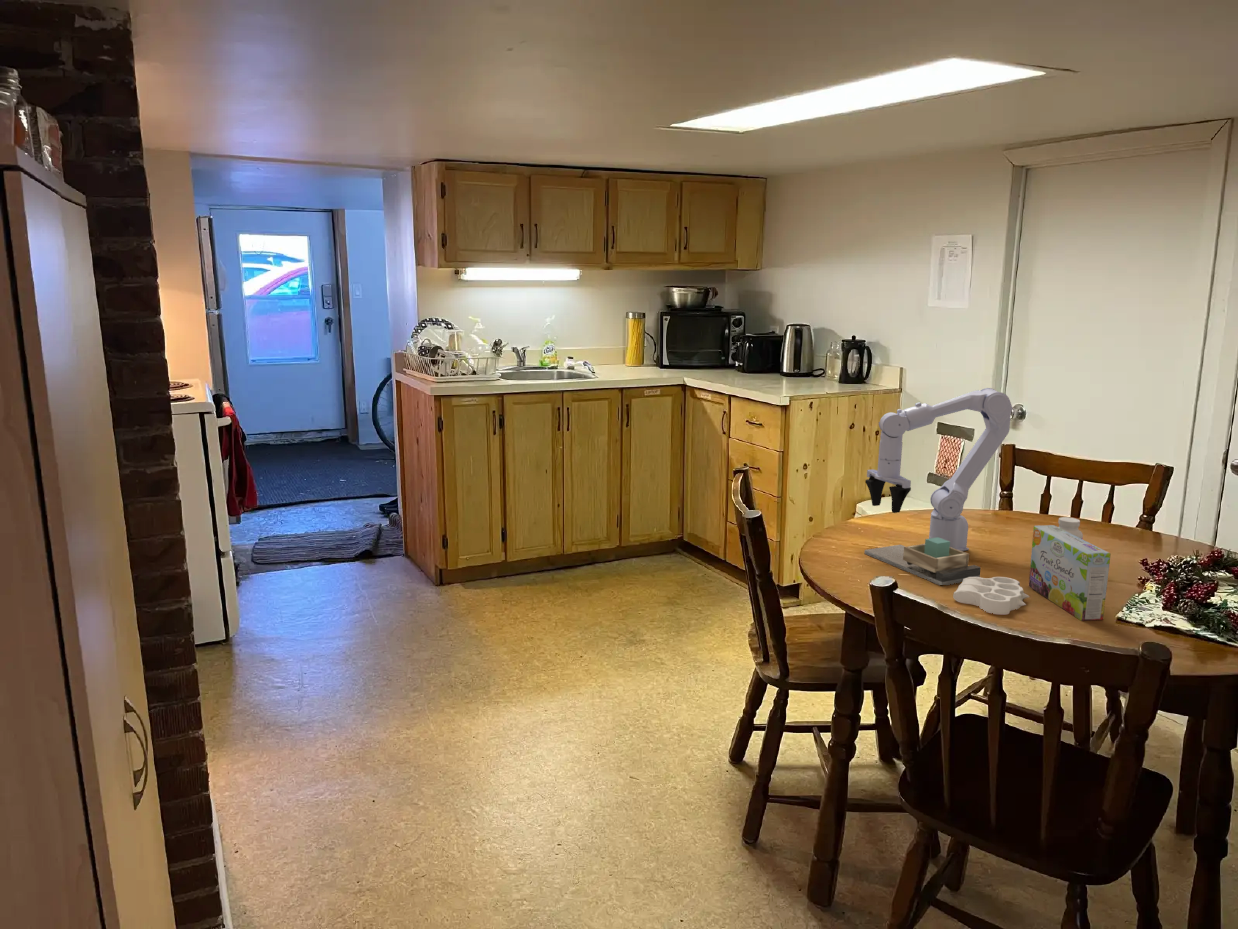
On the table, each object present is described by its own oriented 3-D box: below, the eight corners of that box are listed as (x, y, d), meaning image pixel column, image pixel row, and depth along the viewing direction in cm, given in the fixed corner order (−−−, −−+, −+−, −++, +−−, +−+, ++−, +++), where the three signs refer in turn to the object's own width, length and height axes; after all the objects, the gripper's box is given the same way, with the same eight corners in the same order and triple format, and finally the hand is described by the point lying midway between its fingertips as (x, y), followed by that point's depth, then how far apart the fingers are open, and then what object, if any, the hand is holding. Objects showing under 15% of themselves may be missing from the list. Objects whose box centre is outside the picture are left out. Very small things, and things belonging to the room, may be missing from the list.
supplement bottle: (1082, 575, 213) (1088, 524, 210) (1052, 573, 214) (1058, 522, 211) (1074, 566, 219) (1080, 516, 217) (1045, 564, 221) (1051, 515, 218)
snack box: (1025, 587, 204) (1032, 524, 201) (1048, 586, 205) (1055, 524, 202) (1079, 621, 184) (1088, 552, 181) (1105, 621, 184) (1114, 552, 181)
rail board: (900, 548, 233) (900, 537, 232) (979, 579, 209) (980, 567, 208) (864, 553, 228) (865, 542, 227) (941, 586, 204) (942, 574, 203)
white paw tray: (965, 584, 207) (1032, 595, 200) (949, 607, 192) (1021, 621, 185) (966, 570, 207) (1034, 581, 199) (950, 592, 191) (1023, 605, 184)
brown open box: (935, 558, 221) (936, 542, 220) (967, 570, 211) (969, 553, 210) (902, 563, 216) (903, 547, 216) (934, 576, 207) (935, 559, 206)
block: (936, 556, 216) (937, 537, 215) (948, 561, 213) (950, 541, 212) (923, 558, 215) (925, 539, 214) (935, 563, 211) (937, 543, 210)
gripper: (859, 454, 234) (855, 503, 237) (897, 465, 221) (893, 517, 224) (880, 452, 237) (876, 501, 240) (918, 463, 224) (914, 514, 227)
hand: (885, 508), depth 232 cm, fingers open, 7 cm apart
